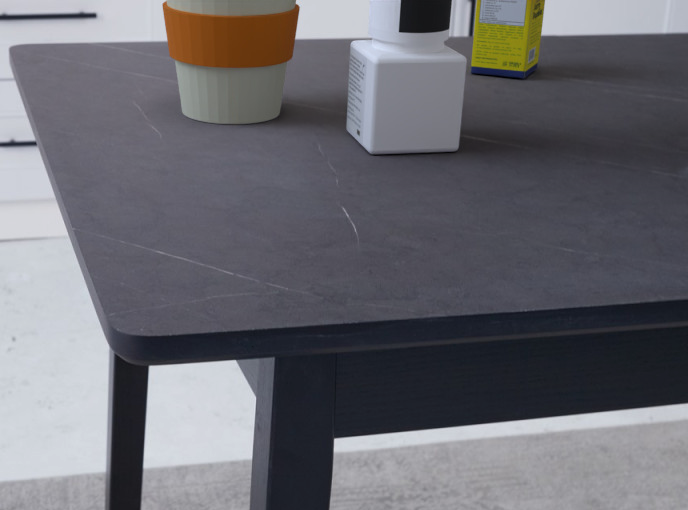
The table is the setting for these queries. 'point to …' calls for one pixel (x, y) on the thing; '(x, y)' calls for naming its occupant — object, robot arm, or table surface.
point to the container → (406, 80)
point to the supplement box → (507, 37)
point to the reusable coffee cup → (231, 56)
